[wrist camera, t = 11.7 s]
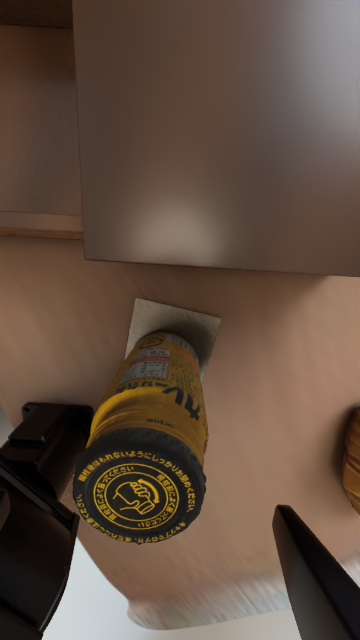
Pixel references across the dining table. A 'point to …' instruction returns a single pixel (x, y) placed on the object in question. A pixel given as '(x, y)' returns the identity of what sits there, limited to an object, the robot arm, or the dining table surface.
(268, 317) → the dining table surface
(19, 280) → the dining table surface
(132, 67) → the cabinet
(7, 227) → the drawer
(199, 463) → the condiment
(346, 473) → the croissant
